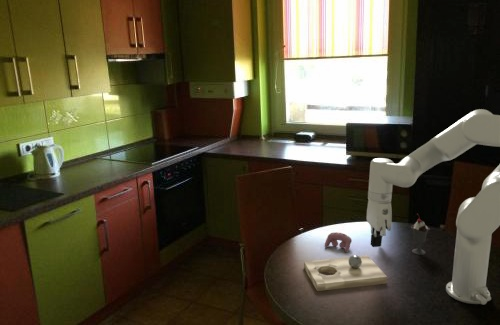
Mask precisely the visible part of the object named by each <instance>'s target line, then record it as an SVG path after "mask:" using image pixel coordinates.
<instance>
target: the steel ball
mask: <svg viewBox="0 0 500 325" xmlns="http://www.w3.org/2000/svg"><path fill="white" fill-rule="evenodd" d="M359 256H360V255H357V254H356V255H355V254H354V255H351V256H349V257H350V258H349V261H348V262H349V265H350V266H351V267H352V268H359V267H360V266H361V264H362V260H361V258H360V257H359Z"/></svg>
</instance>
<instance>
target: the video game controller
mask: <svg viewBox="0 0 500 325" xmlns="http://www.w3.org/2000/svg"><path fill="white" fill-rule="evenodd" d="M338 241H341V242H340V243H339V242H338ZM351 244H352V238H351V237H350V236H349V235H347V234H345V233H342V232H331V233H329V234H328V235H327V237H326V240H325V243H324V247H325V249H327V248H328V247H329V246H330V245H331V246H333V247H340V248H341V249H344V251H345V253H348V252H349V250H350V247H351ZM338 245H339V246H338Z"/></svg>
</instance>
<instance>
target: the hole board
mask: <svg viewBox="0 0 500 325" xmlns="http://www.w3.org/2000/svg"><path fill="white" fill-rule="evenodd" d="M358 256H359V257H360V258H361V260H362V264H361V266H360V267H359V268H352V267H351V266H350V265H349V262H348V261H349V258H350V257H351V256H346V257H337V258H336V257H335V258H327V259H326V258H325V259H318V260H306V261H304V262H303V269H304V270H305V272H306V274H307V275H308V277H309V279H310V280H311V283H312V285H313V286H314V288H315V290H316V291H317V292H321V291H322V292H323V291H329V290H340V289H349V288H357V287H358V288H359V287H367V286H375V285H382V284H387V282H388V276H387V275H386V274H385V273H384V271H383V270H382V269H381V268H380V267H379V266H378V265H377V264H376V263H375V262H374V261H373V260H372V258H370V256H369V255H367V254H365V255H358ZM323 273H329V274H330V275H329V274H328V275H326V274H323Z"/></svg>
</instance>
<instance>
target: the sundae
mask: <svg viewBox="0 0 500 325" xmlns="http://www.w3.org/2000/svg"><path fill="white" fill-rule="evenodd" d="M416 215H417V216H418V219H417V220H416V222H414V224H411V225H410V228H411V230H412V235H413V241H414V242H415V244H417V247H416V248H414V249H412V250H411V252H412V254H414V255H418V256H424V255H425V254H426V251H425V250H424V249H422V247H421V246H422V244H424V243H425V242H426V239H427V235H428V231H430V230H431V228H430V227H429V226H427V225H426V224H425V221H424V220H421V219H420V218H421V217H420V215H419V213H416Z"/></svg>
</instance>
